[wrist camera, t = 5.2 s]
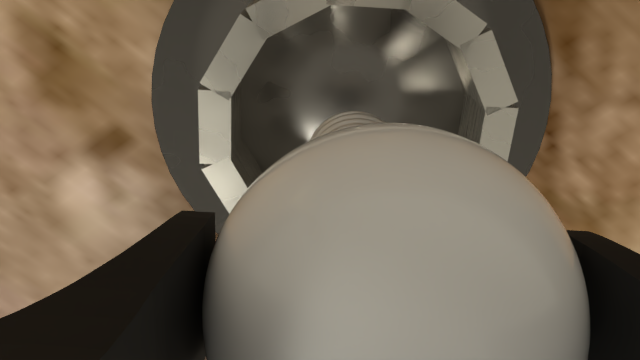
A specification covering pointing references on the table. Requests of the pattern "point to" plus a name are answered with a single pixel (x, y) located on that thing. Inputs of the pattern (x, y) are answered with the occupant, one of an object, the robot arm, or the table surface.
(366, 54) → the lamp base
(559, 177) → the table surface
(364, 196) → the lightbulb
